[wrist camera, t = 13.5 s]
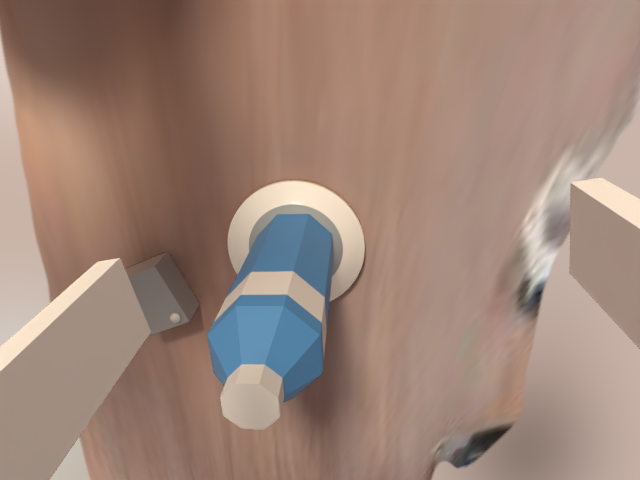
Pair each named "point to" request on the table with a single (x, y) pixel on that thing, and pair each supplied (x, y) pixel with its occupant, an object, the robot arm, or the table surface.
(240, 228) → the cream plate
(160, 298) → the box
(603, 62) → the table surface
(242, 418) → the water bottle
